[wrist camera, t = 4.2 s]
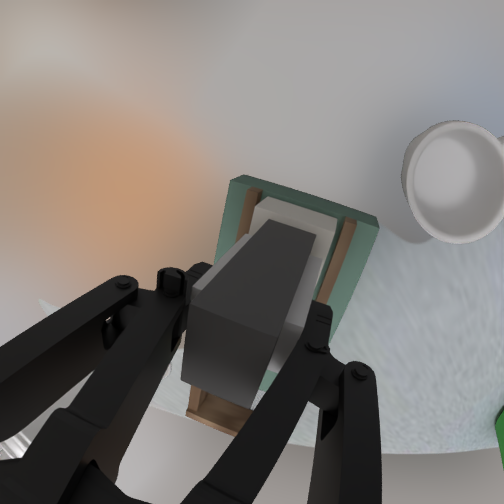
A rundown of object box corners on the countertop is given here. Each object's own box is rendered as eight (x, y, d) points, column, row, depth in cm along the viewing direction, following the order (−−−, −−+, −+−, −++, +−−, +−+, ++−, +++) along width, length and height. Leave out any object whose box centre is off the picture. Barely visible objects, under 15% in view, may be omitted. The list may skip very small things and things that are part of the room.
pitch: (376, 216, 23) (379, 228, 20) (303, 382, 31) (297, 402, 28) (243, 174, 25) (230, 180, 22) (208, 346, 33) (196, 363, 30)
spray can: (134, 385, 41) (35, 501, 19) (89, 329, 40) (-29, 435, 18) (182, 372, 36) (66, 528, 14) (130, 304, 34) (-25, 445, 12)
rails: (356, 220, 20) (357, 225, 19) (287, 385, 28) (284, 394, 27) (252, 186, 22) (246, 189, 21) (214, 357, 29) (209, 365, 28)
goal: (304, 383, 31) (296, 410, 27) (280, 425, 35) (271, 450, 31) (207, 346, 33) (191, 369, 29) (198, 394, 37) (185, 415, 33)
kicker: (337, 218, 20) (313, 336, 9) (311, 292, 23) (264, 435, 11) (267, 196, 21) (164, 279, 10) (249, 270, 24) (159, 390, 12)
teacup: (424, 239, 22) (440, 266, 17) (374, 156, 21) (381, 163, 16) (514, 177, 17) (547, 190, 13) (469, 92, 16) (498, 84, 12)
